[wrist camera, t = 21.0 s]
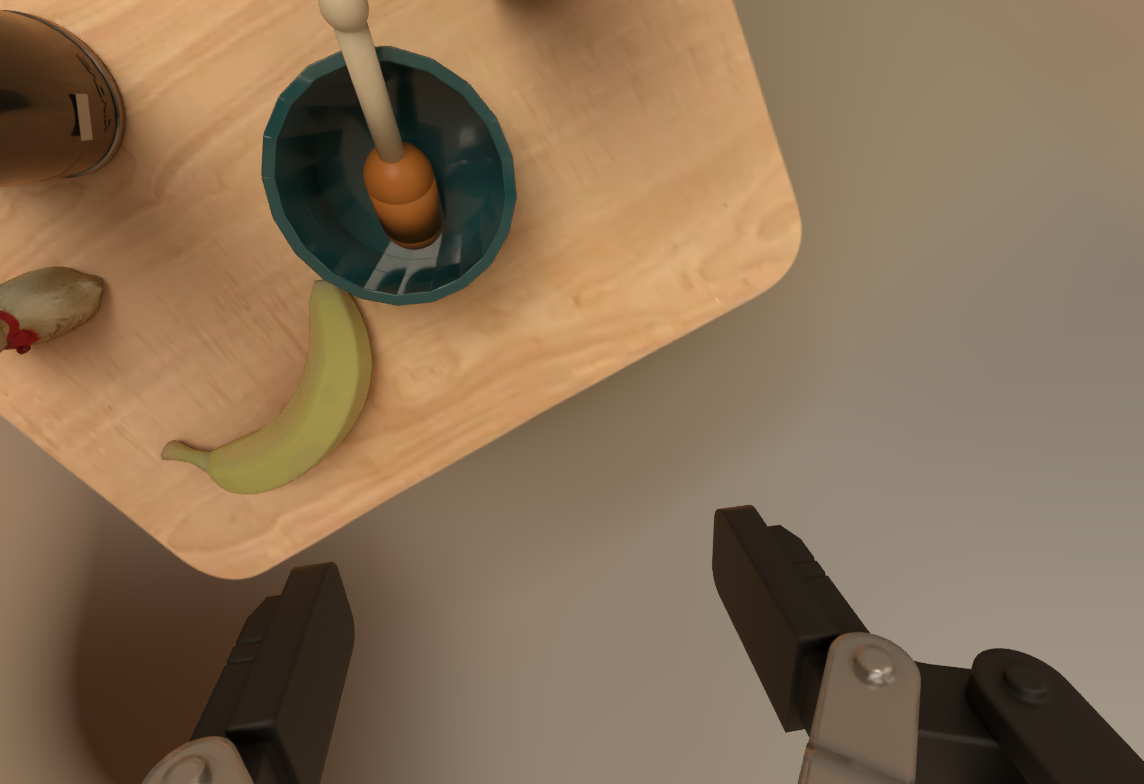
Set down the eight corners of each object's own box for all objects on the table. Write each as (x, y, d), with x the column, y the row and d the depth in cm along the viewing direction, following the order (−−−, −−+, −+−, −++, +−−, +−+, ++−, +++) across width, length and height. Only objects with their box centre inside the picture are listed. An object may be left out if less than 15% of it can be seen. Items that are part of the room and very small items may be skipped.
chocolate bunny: (-26, 261, 41) (-162, 303, 32) (101, 268, 43) (4, 311, 34) (-2, 336, 44) (-123, 395, 35) (118, 340, 45) (31, 398, 36)
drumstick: (284, 18, 26) (286, -48, 27) (389, 265, 43) (387, 215, 45) (387, 11, 26) (384, -54, 28) (450, 258, 43) (446, 210, 45)
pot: (332, 274, 45) (299, 316, 37) (282, 66, 39) (227, 54, 30) (515, 257, 47) (526, 292, 38) (494, 53, 41) (501, 39, 32)
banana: (399, 448, 44) (174, 529, 47) (422, 426, 50) (218, 499, 53) (318, 274, 42) (84, 371, 44) (351, 270, 47) (140, 357, 50)
